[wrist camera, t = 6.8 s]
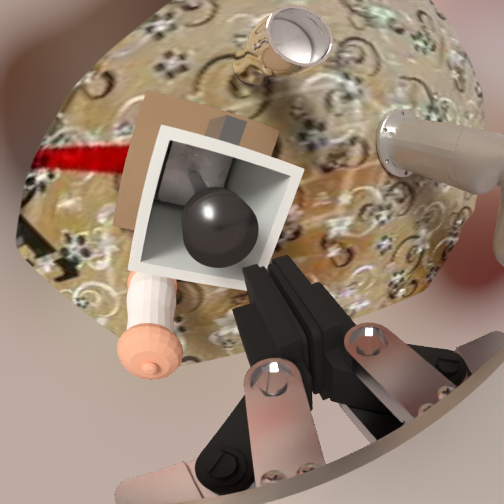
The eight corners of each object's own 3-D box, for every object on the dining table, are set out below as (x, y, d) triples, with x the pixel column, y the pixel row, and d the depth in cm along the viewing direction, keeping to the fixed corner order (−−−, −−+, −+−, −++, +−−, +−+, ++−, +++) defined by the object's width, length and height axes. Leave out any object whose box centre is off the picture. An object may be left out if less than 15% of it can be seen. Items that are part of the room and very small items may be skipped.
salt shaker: (149, 243, 38) (139, 332, 22) (186, 272, 42) (202, 367, 25) (120, 277, 39) (100, 373, 22) (156, 303, 42) (159, 401, 26)
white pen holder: (274, 130, 36) (364, 139, 19) (234, 246, 42) (282, 334, 25) (148, 92, 29) (122, 53, 12) (115, 221, 35) (74, 304, 18)
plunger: (232, 155, 33) (302, 189, 16) (214, 211, 36) (259, 298, 19) (173, 139, 31) (174, 150, 13) (157, 198, 33) (143, 279, 16)
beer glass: (242, 95, 33) (284, 78, 20) (220, 53, 30) (250, 12, 16) (286, 78, 33) (346, 59, 20) (265, 37, 30) (316, -2, 17)
